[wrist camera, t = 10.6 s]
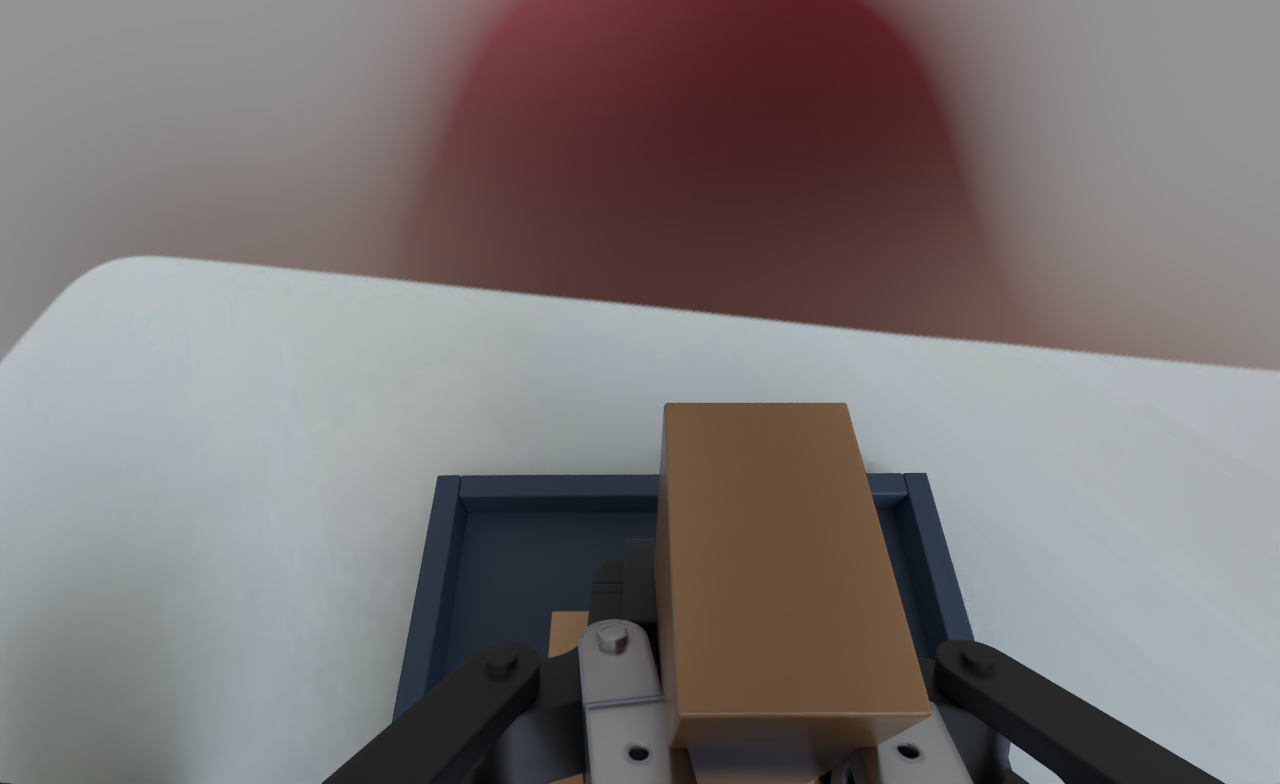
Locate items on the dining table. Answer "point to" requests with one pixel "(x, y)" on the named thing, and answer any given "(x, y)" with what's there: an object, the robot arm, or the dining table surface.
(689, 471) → the wooden post on base
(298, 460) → the dining table surface
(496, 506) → the tray
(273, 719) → the dining table surface
